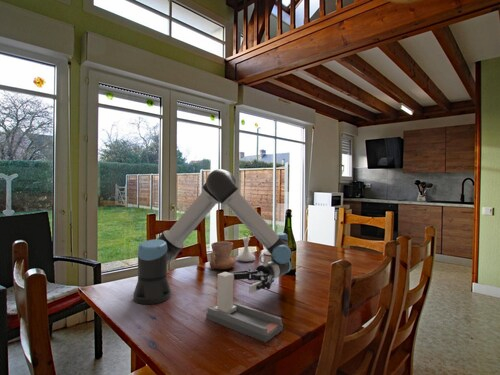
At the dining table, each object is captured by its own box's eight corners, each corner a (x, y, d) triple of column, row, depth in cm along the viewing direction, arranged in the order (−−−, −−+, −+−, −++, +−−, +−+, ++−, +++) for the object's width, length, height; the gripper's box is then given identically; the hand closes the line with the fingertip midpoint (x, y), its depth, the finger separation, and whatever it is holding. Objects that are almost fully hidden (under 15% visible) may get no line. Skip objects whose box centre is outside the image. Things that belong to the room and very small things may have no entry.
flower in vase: (240, 263, 178) (241, 222, 177) (234, 259, 188) (234, 220, 188) (260, 261, 183) (261, 221, 182) (252, 257, 193) (253, 219, 193)
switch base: (206, 318, 106) (206, 307, 106) (224, 309, 114) (224, 298, 114) (266, 342, 91) (266, 330, 91) (282, 330, 99) (283, 318, 99)
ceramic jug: (222, 262, 180) (222, 239, 180) (241, 266, 172) (241, 242, 171) (201, 270, 166) (201, 244, 165) (220, 274, 157) (220, 248, 157)
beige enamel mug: (281, 267, 170) (281, 247, 170) (275, 272, 162) (275, 251, 162) (262, 265, 176) (262, 245, 176) (255, 268, 168) (255, 248, 168)
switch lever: (213, 311, 107) (213, 274, 107) (224, 305, 112) (224, 270, 112) (225, 315, 103) (226, 277, 103) (236, 310, 108) (237, 273, 108)
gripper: (292, 287, 121) (262, 303, 104) (244, 274, 136) (212, 287, 119) (292, 269, 121) (262, 282, 104) (245, 258, 136) (212, 269, 119)
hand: (235, 285), depth 112 cm, fingers open, 13 cm apart
